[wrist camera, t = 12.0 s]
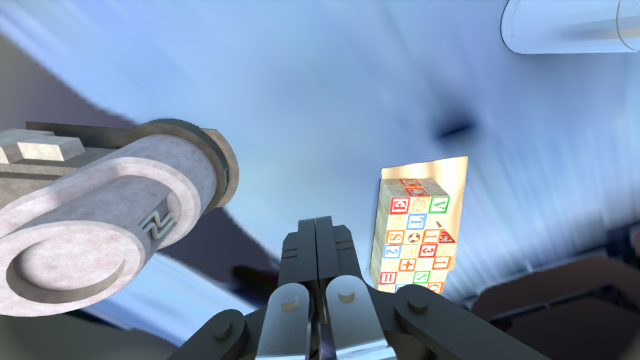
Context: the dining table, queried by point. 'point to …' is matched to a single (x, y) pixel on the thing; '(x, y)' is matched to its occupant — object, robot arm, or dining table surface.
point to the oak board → (448, 177)
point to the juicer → (99, 206)
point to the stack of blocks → (411, 235)
